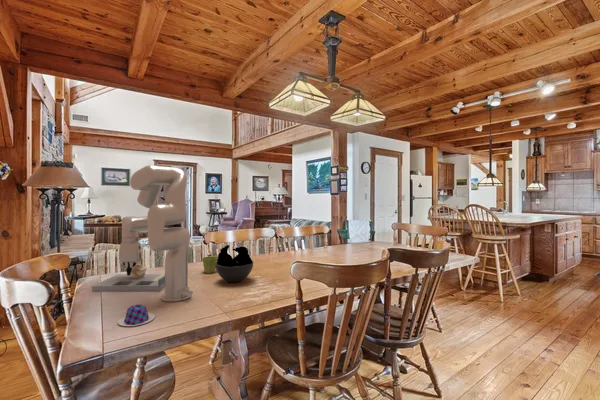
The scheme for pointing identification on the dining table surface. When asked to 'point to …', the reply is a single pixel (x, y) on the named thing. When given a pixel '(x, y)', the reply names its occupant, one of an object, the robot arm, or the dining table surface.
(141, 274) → the block
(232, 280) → the black bowl plant
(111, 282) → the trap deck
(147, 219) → the robot arm
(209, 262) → the plant pot
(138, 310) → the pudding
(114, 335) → the dining table surface
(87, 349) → the dining table surface
